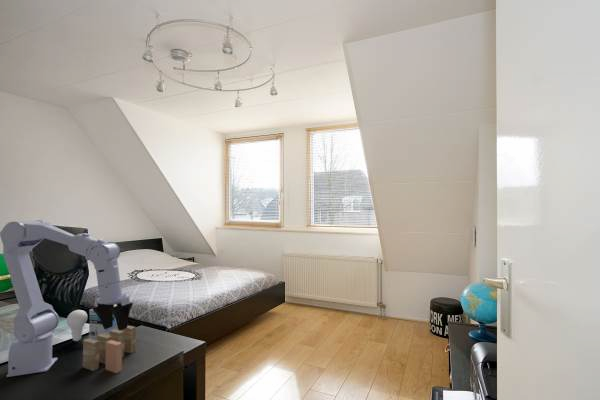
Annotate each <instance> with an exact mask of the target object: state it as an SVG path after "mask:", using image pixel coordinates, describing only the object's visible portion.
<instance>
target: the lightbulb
mask: <svg viewBox="0 0 600 400" xmlns="http://www.w3.org/2000/svg"><path fill="white" fill-rule="evenodd" d="M86 322H88V314H87V312H86V311H85V310H82V309H76V310H73V311H71V312H70V313H69V314H68V315H67V318H66V324H67V326H68V327H69V328H70V331H71V335H72V341H74V342H79V341H80V340H81V339H82V335H83V330H84V327H85V324H86Z"/></svg>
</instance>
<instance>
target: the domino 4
mask: <svg viewBox="0 0 600 400" xmlns="http://www.w3.org/2000/svg"><path fill="white" fill-rule="evenodd" d="M122 360H123V357H122V343H120V342H116V341H113V340H110V341H107V342H106V364H104V365H105V366H104V367H105V371H109V372H111V373H114V374H118V373H120V372H122V370H123V364H122V363H123V361H122Z"/></svg>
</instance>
